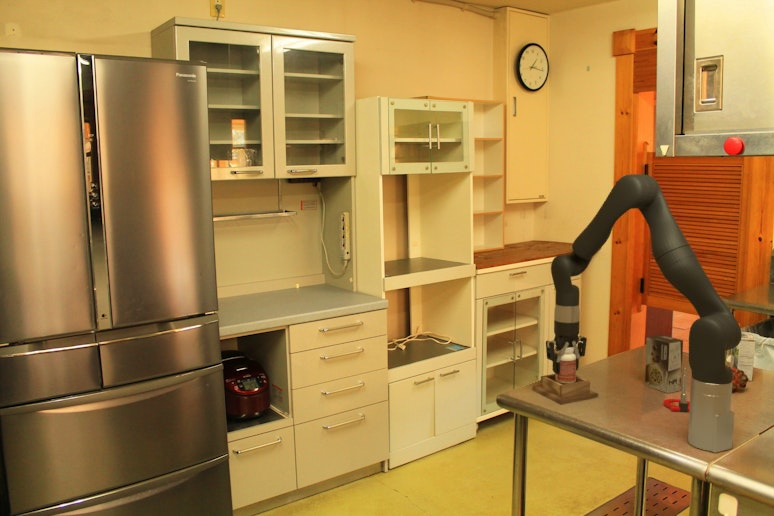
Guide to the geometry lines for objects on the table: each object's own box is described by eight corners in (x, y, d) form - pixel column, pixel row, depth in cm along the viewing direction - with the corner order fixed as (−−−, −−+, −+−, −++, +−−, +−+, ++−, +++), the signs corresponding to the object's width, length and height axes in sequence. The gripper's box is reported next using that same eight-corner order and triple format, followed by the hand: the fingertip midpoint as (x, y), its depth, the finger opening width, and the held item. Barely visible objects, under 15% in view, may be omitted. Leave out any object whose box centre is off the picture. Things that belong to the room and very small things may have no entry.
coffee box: (681, 390, 205) (684, 340, 202) (667, 393, 202) (669, 343, 199) (658, 382, 213) (660, 333, 210) (643, 385, 210) (646, 336, 208)
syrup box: (729, 374, 219) (731, 332, 217) (748, 376, 217) (751, 333, 215) (733, 380, 213) (735, 336, 211) (753, 381, 212) (756, 337, 210)
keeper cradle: (598, 397, 200) (598, 382, 199) (560, 404, 194) (561, 389, 193) (568, 383, 212) (568, 369, 212) (532, 390, 207) (532, 375, 206)
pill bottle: (579, 383, 201) (580, 348, 199) (562, 385, 199) (563, 350, 197) (567, 377, 207) (568, 343, 205) (551, 379, 205) (551, 345, 203)
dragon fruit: (751, 398, 201) (707, 398, 206) (748, 376, 207) (706, 376, 212) (749, 382, 196) (705, 382, 201) (746, 359, 202) (703, 360, 207)
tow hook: (660, 401, 197) (668, 411, 187) (661, 359, 195) (670, 367, 186) (689, 403, 195) (699, 413, 186) (691, 360, 194) (701, 368, 185)
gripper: (555, 324, 194) (554, 378, 196) (594, 318, 199) (592, 371, 202) (539, 318, 200) (539, 371, 203) (577, 313, 206) (576, 365, 208)
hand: (565, 371), depth 202 cm, fingers closed on pill bottle, 6 cm apart
